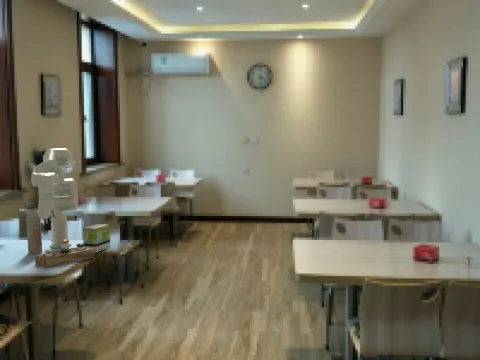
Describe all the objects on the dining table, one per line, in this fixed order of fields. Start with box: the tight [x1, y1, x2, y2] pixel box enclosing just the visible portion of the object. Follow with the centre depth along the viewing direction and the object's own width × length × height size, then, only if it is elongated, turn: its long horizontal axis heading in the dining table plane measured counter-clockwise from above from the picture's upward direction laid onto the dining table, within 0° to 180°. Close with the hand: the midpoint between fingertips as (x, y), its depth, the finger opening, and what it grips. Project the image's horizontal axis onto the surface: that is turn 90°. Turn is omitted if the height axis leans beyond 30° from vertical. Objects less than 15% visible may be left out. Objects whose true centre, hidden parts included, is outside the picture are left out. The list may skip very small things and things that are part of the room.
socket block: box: [34, 246, 96, 268], centre depth 317 cm, size 12×30×5 cm, turn 139°
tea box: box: [82, 223, 111, 253], centre depth 344 cm, size 15×10×15 cm
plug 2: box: [76, 242, 85, 250], centre depth 324 cm, size 5×5×7 cm
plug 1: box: [44, 249, 54, 257], centre depth 309 cm, size 5×5×7 cm
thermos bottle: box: [25, 205, 43, 255], centre depth 338 cm, size 8×8×28 cm
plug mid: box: [60, 238, 70, 254], centre depth 317 cm, size 5×5×7 cm
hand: (48, 230), depth 308 cm, fingers closed
